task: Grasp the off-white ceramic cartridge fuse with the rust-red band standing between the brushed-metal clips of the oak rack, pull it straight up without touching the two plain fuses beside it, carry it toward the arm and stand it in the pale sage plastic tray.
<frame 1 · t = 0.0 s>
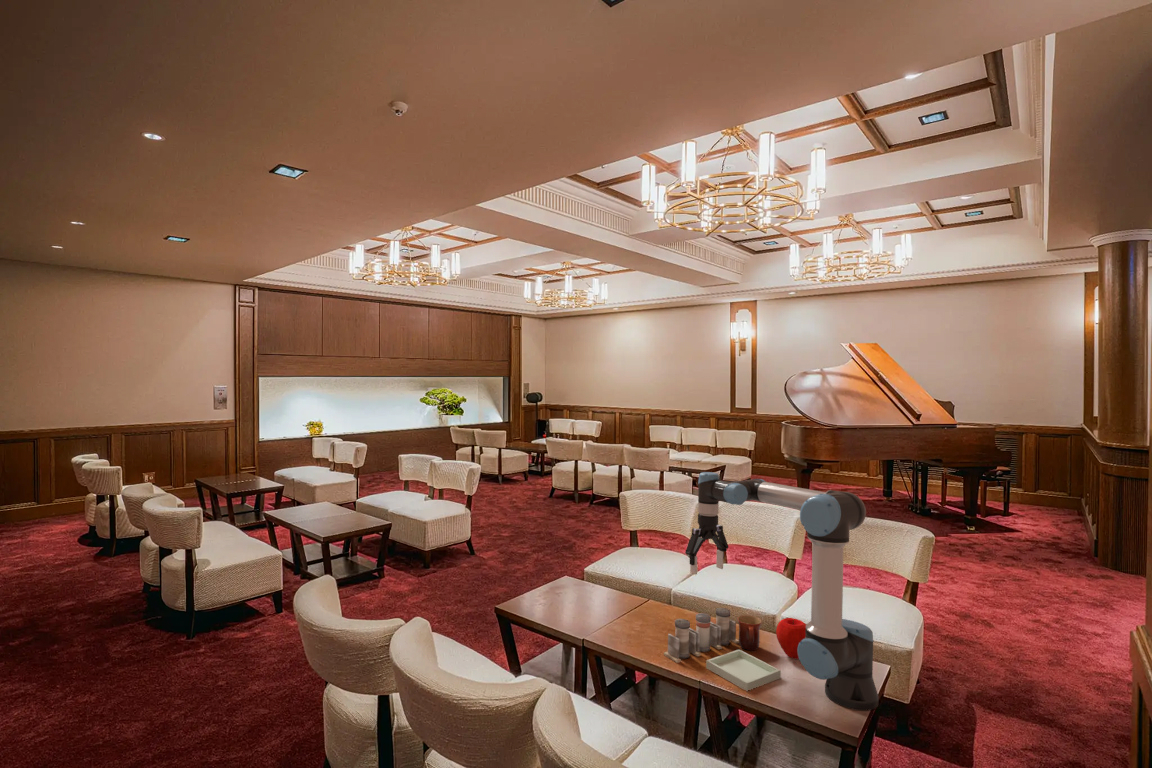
hand: (706, 570, 211), 28 cm above the table, fingers open, 13 cm apart
clip rack: (702, 648, 209), on the table
fuse: (702, 648, 209), on the table
mug: (749, 649, 209), on the table
apple: (792, 657, 204), on the table
tray: (742, 673, 191), on the table
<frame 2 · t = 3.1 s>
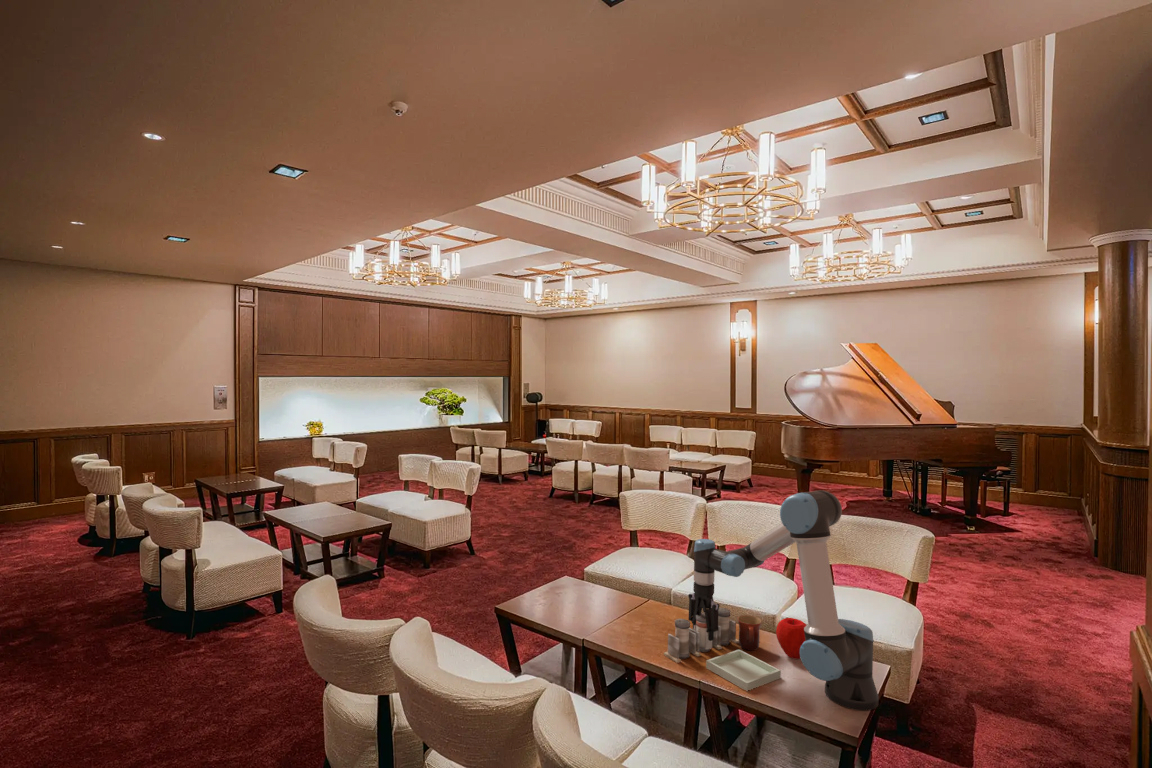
hand: (702, 645, 209), 1 cm above the table, fingers closed on fuse, 5 cm apart
fuse: (702, 648, 209), on the table, touching gripper
everything else where it was.
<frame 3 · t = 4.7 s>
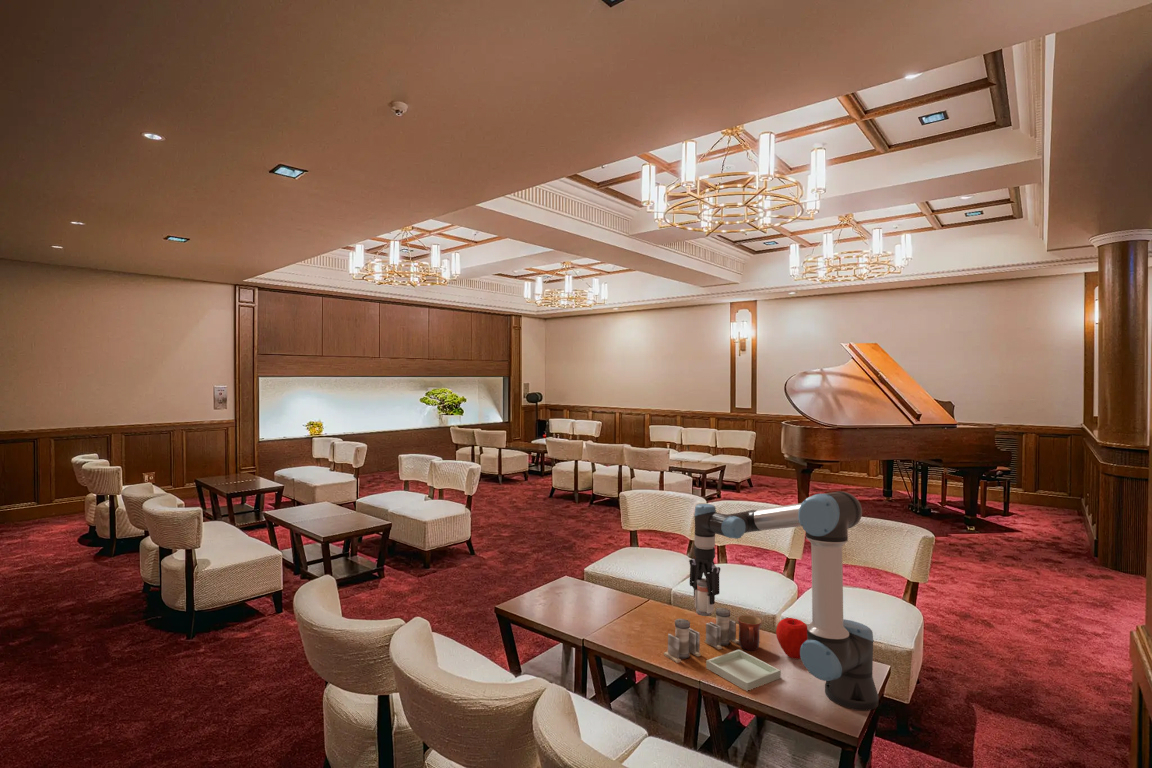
hand: (703, 609, 209), 14 cm above the table, fingers closed on fuse, 5 cm apart
fuse: (703, 613, 209), point 13 cm above the table, touching gripper
everything else where it was.
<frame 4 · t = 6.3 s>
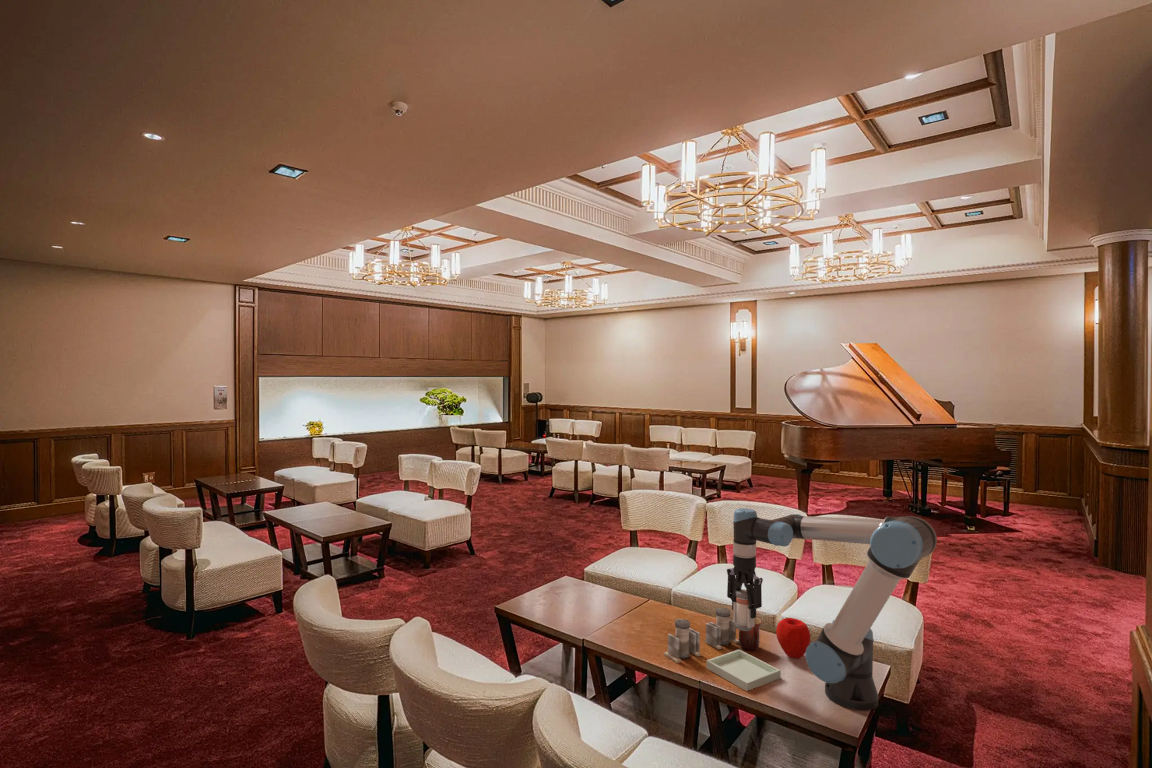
hand: (743, 623, 191), 17 cm above the table, fingers closed on fuse, 5 cm apart
fuse: (743, 627, 191), point 15 cm above the table, touching gripper
everything else where it was.
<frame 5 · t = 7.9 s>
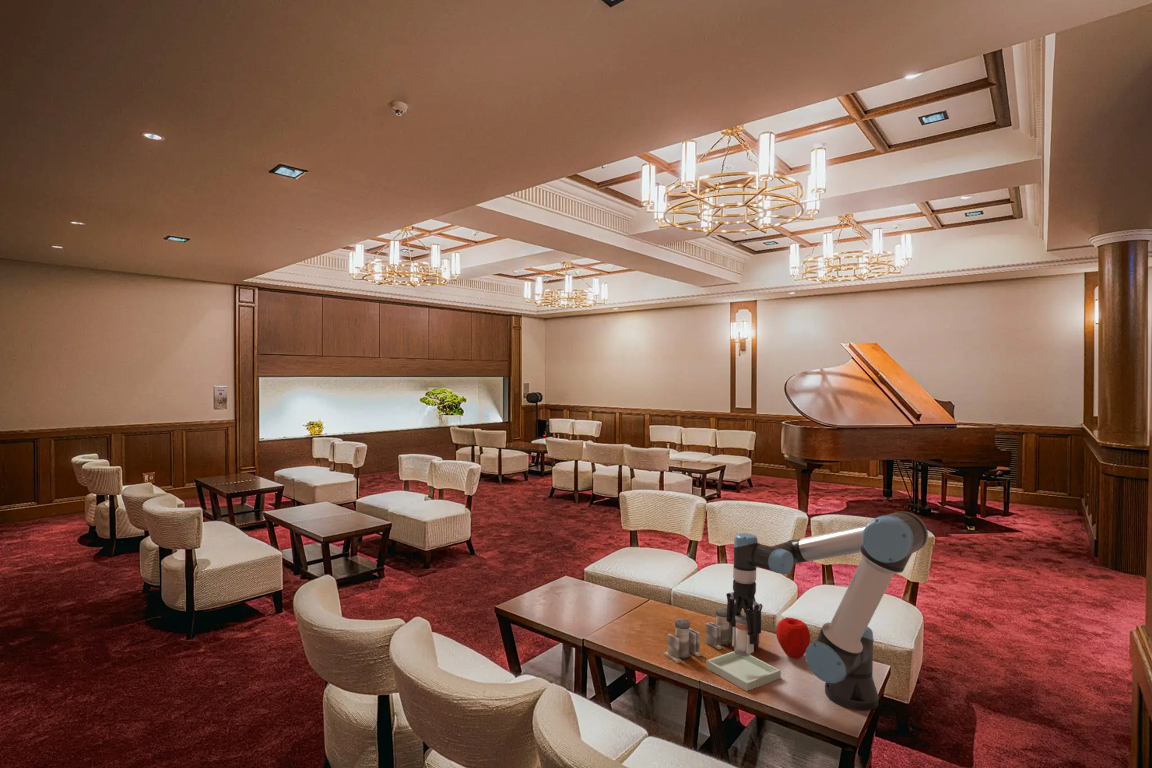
hand: (742, 648, 191), 8 cm above the table, fingers closed on fuse, 5 cm apart
fuse: (742, 652, 191), point 7 cm above the table, touching gripper
everything else where it was.
when the fingers open (3 cm above the table, at t = 9.5 s): fuse drops 1 cm, resting on tray.
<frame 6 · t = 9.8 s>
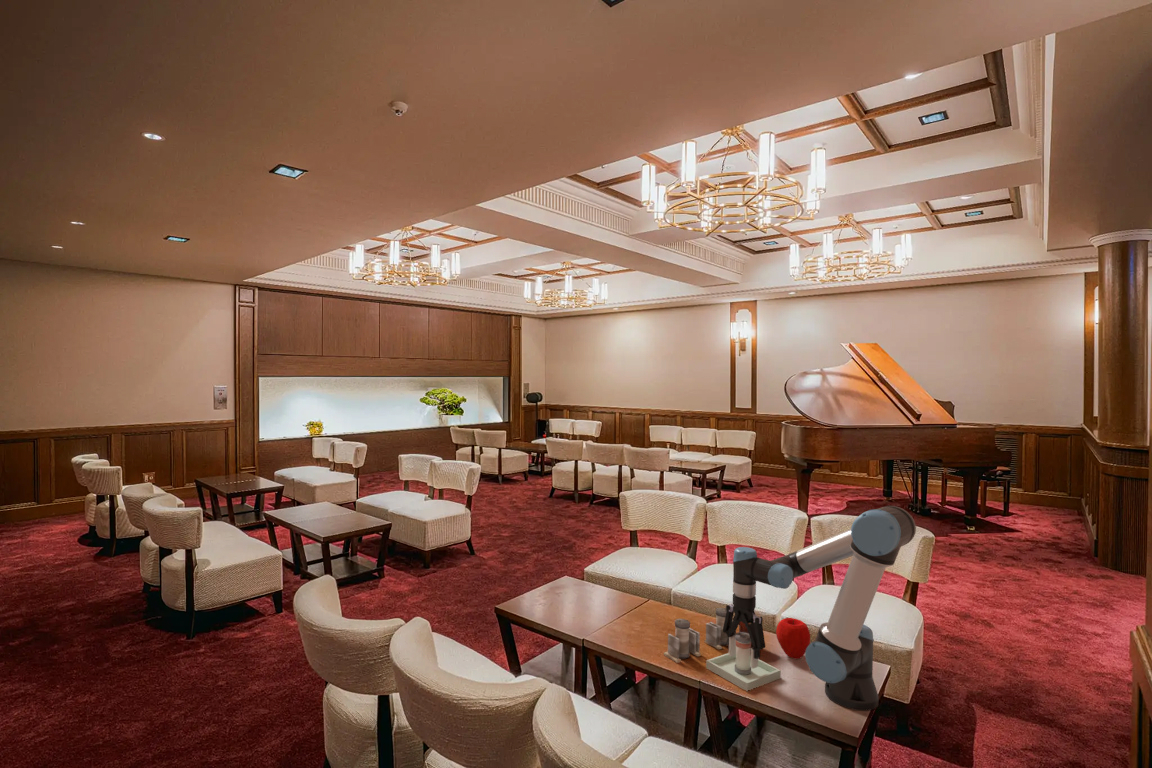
hand: (742, 661, 191), 4 cm above the table, fingers open, 9 cm apart
fuse: (742, 671, 191), point 1 cm above the table, touching tray
everything else where it was.
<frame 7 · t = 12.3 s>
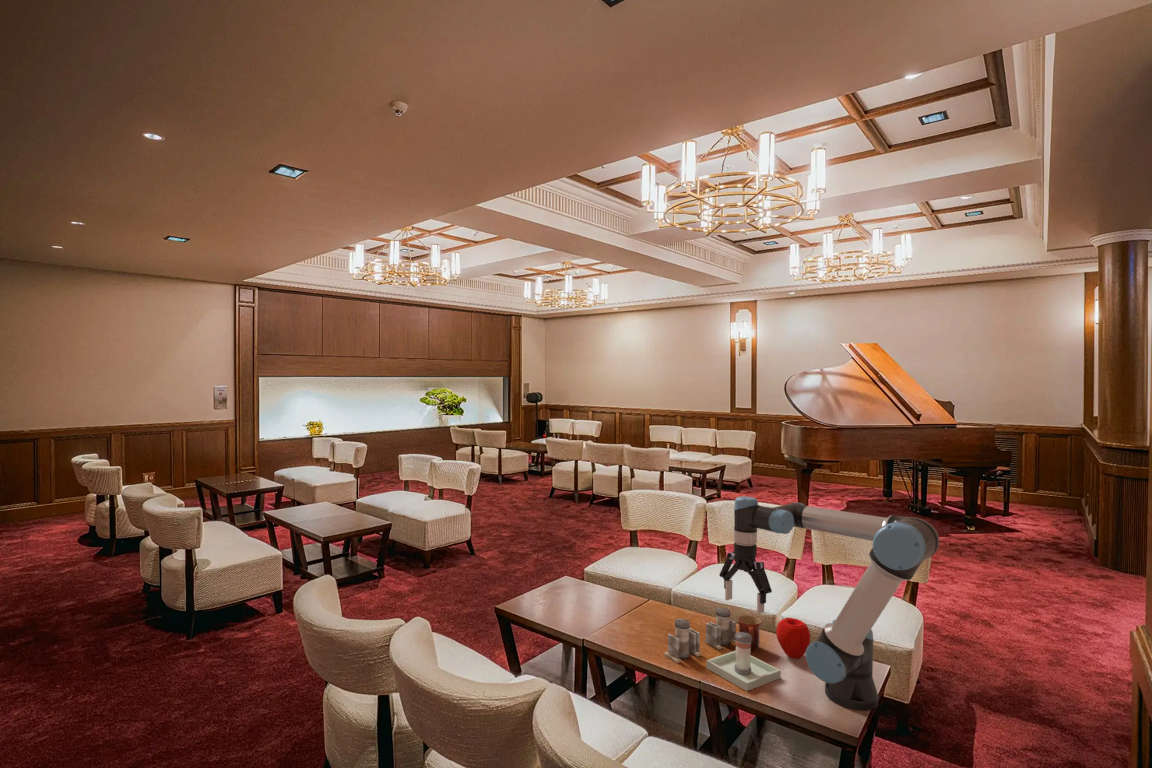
hand: (744, 605, 191), 23 cm above the table, fingers open, 13 cm apart
nothing on the table moved.
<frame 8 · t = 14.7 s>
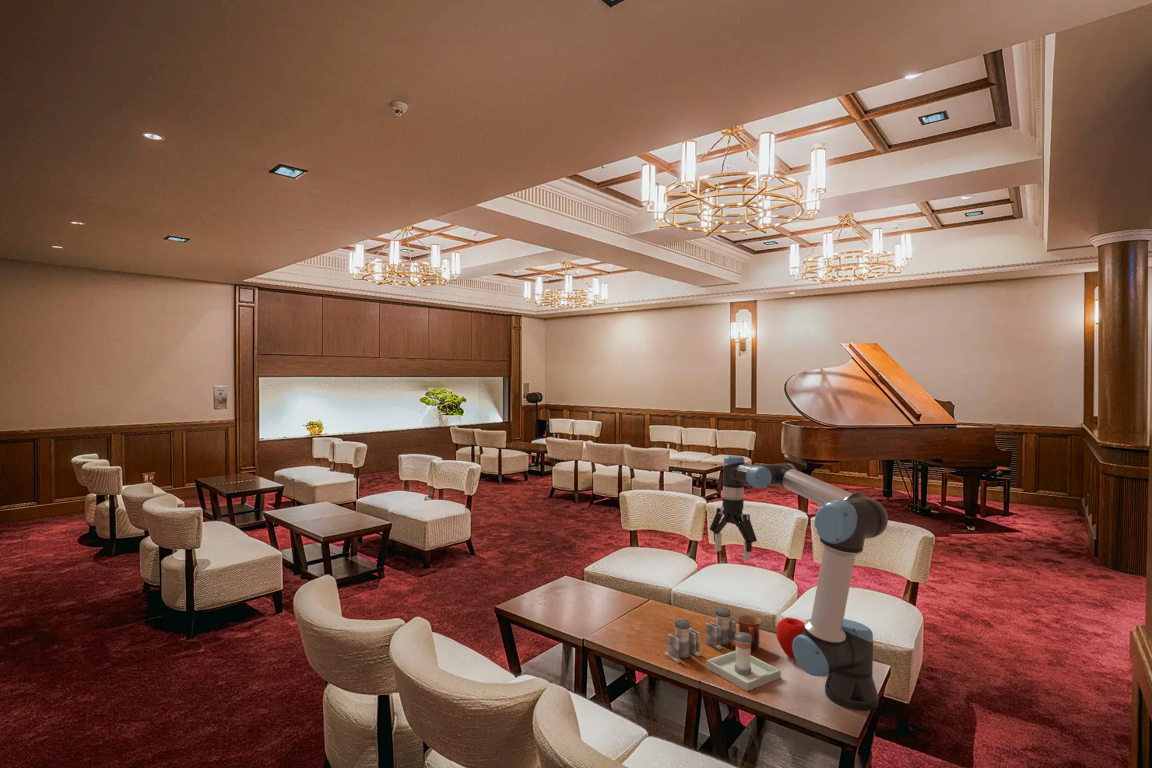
hand: (731, 555, 208), 35 cm above the table, fingers open, 13 cm apart
nothing on the table moved.
at the end: fuse inside the target area on the tray (0.0 cm from its centre), point 0.6 cm above the tray's base; fuse tilted 0°; the gripper is holding nothing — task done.
